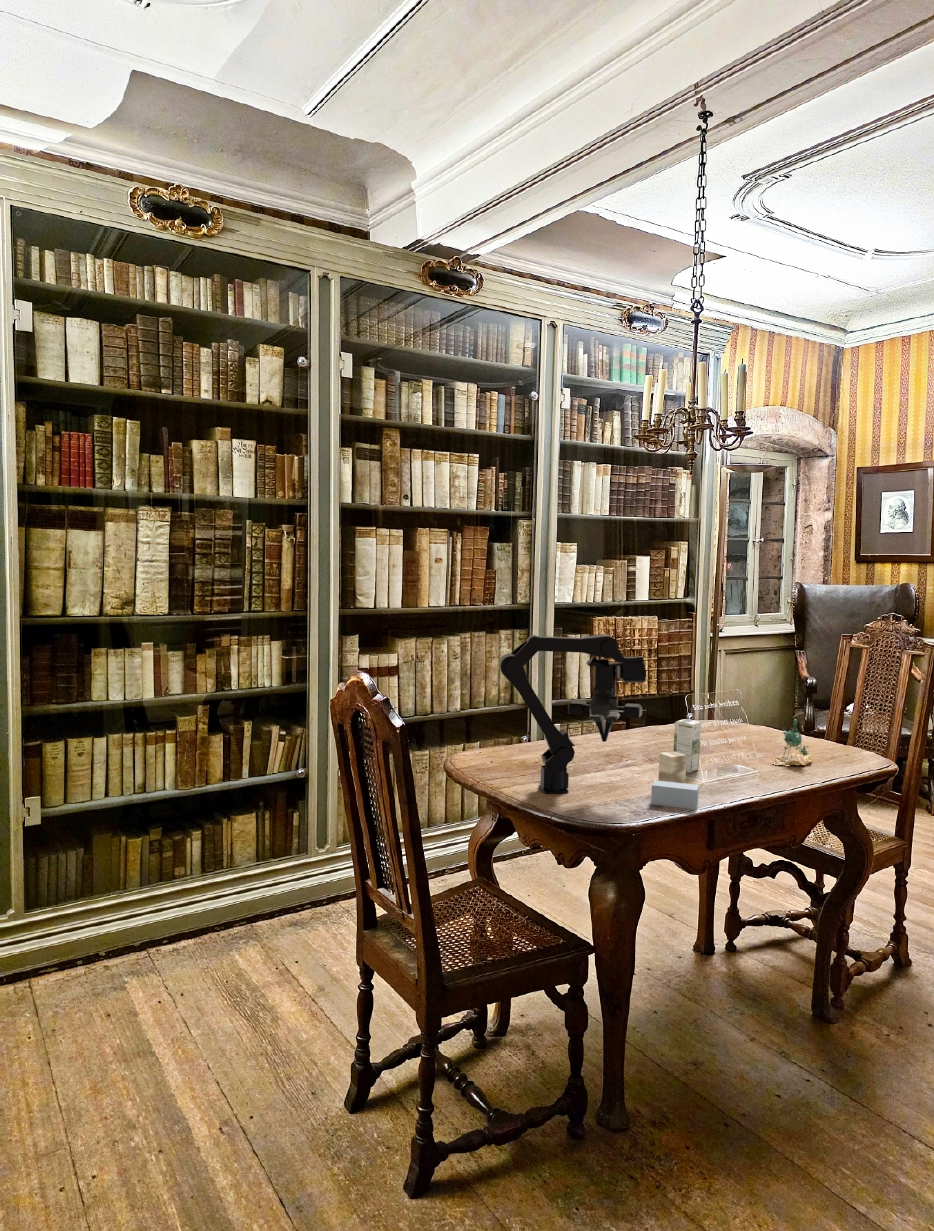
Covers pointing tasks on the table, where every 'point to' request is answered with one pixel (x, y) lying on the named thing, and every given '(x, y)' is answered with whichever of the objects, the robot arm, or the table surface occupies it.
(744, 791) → the table surface
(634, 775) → the table surface
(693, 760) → the syrup box
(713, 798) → the table surface
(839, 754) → the table surface
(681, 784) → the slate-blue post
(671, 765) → the birch post
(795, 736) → the frog figurine
